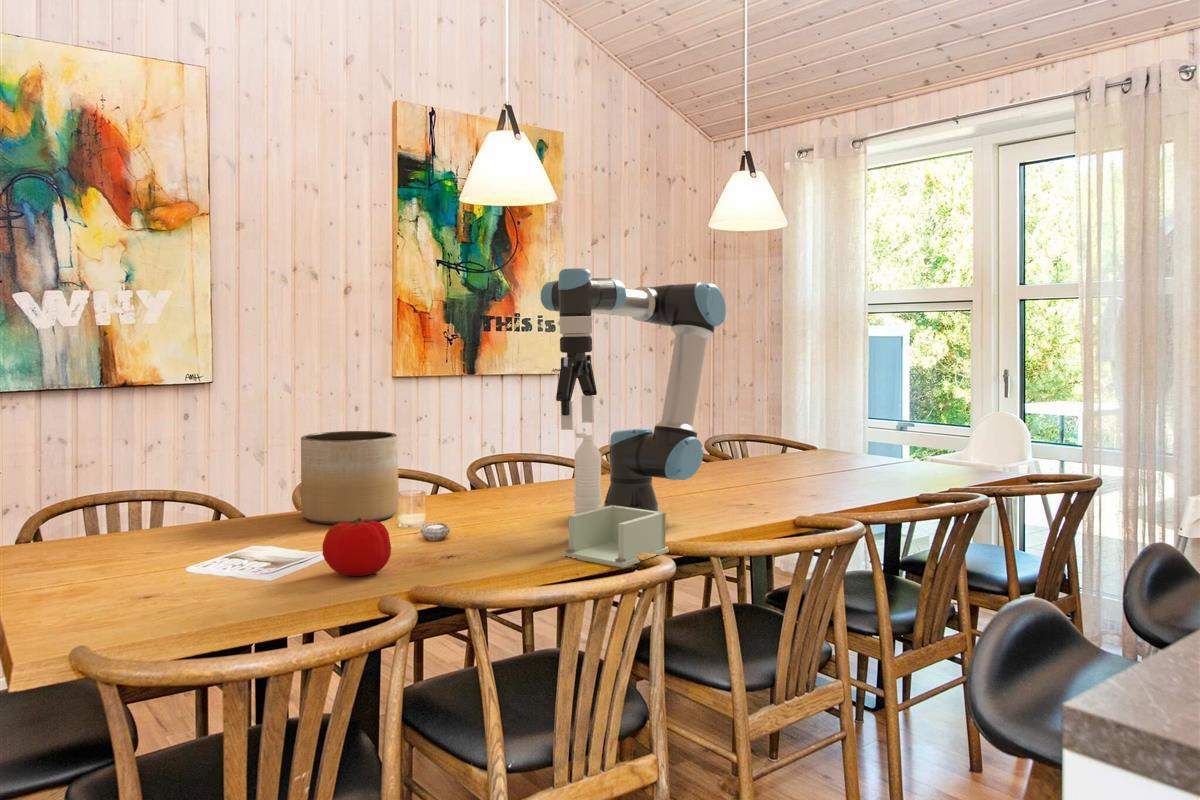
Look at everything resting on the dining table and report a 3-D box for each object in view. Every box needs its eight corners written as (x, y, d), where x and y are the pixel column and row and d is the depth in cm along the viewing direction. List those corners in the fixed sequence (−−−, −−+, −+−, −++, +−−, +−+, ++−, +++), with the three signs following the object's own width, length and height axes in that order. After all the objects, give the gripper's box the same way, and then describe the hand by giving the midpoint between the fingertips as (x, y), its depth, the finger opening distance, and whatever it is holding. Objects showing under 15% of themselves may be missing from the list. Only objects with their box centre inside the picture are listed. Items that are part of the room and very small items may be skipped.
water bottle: (605, 539, 210) (605, 435, 208) (580, 542, 208) (580, 437, 206) (591, 532, 218) (591, 432, 216) (566, 534, 215) (566, 433, 214)
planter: (413, 519, 234) (412, 436, 233) (317, 530, 220) (315, 443, 219) (379, 504, 255) (378, 428, 254) (290, 514, 241) (288, 434, 239)
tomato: (392, 579, 175) (392, 522, 174) (322, 585, 171) (321, 526, 170) (389, 564, 187) (388, 511, 186) (323, 569, 183) (322, 514, 182)
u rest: (612, 541, 208) (612, 504, 207) (669, 551, 198) (669, 512, 198) (564, 556, 194) (564, 516, 193) (623, 567, 184) (623, 525, 183)
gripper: (579, 334, 218) (581, 419, 220) (539, 337, 194) (542, 432, 196) (608, 334, 215) (609, 420, 217) (571, 336, 192) (573, 433, 194)
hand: (577, 426), depth 207 cm, fingers open, 13 cm apart
